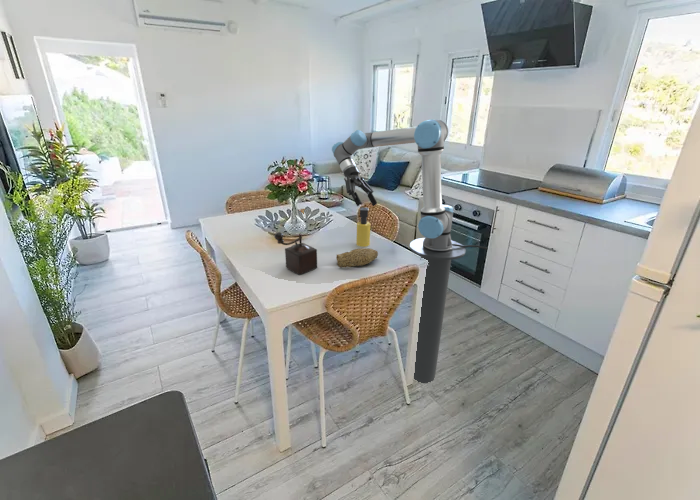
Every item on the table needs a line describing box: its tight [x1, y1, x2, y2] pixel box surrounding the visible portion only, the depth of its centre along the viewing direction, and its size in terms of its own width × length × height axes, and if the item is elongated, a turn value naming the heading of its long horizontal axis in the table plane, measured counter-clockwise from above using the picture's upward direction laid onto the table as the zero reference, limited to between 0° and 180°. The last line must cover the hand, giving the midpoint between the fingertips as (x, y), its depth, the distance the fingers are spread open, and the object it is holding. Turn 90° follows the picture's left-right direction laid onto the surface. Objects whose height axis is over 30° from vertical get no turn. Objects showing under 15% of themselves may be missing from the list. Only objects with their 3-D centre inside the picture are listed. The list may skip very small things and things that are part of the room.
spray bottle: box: [355, 207, 371, 248], centre depth 182 cm, size 7×8×20 cm
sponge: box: [335, 247, 379, 269], centre depth 162 cm, size 13×8×20 cm
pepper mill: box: [273, 231, 318, 276], centre depth 152 cm, size 16×11×18 cm
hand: (367, 204), depth 175 cm, fingers open, 13 cm apart
